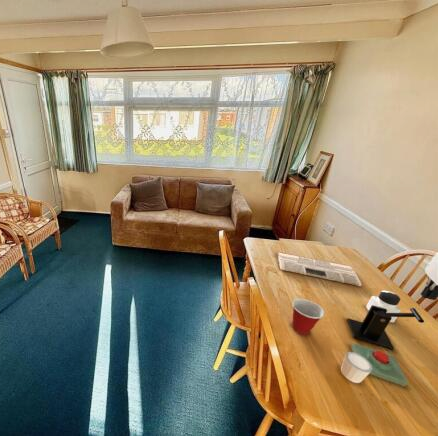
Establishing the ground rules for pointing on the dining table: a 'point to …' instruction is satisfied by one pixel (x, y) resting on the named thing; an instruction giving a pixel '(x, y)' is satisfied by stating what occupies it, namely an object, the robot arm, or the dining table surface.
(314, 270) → the newspaper
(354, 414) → the dining table surface
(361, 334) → the bracket
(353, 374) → the white cup
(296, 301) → the plastic cup
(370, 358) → the button box
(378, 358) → the button
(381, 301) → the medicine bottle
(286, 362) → the dining table surface
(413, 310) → the lever
